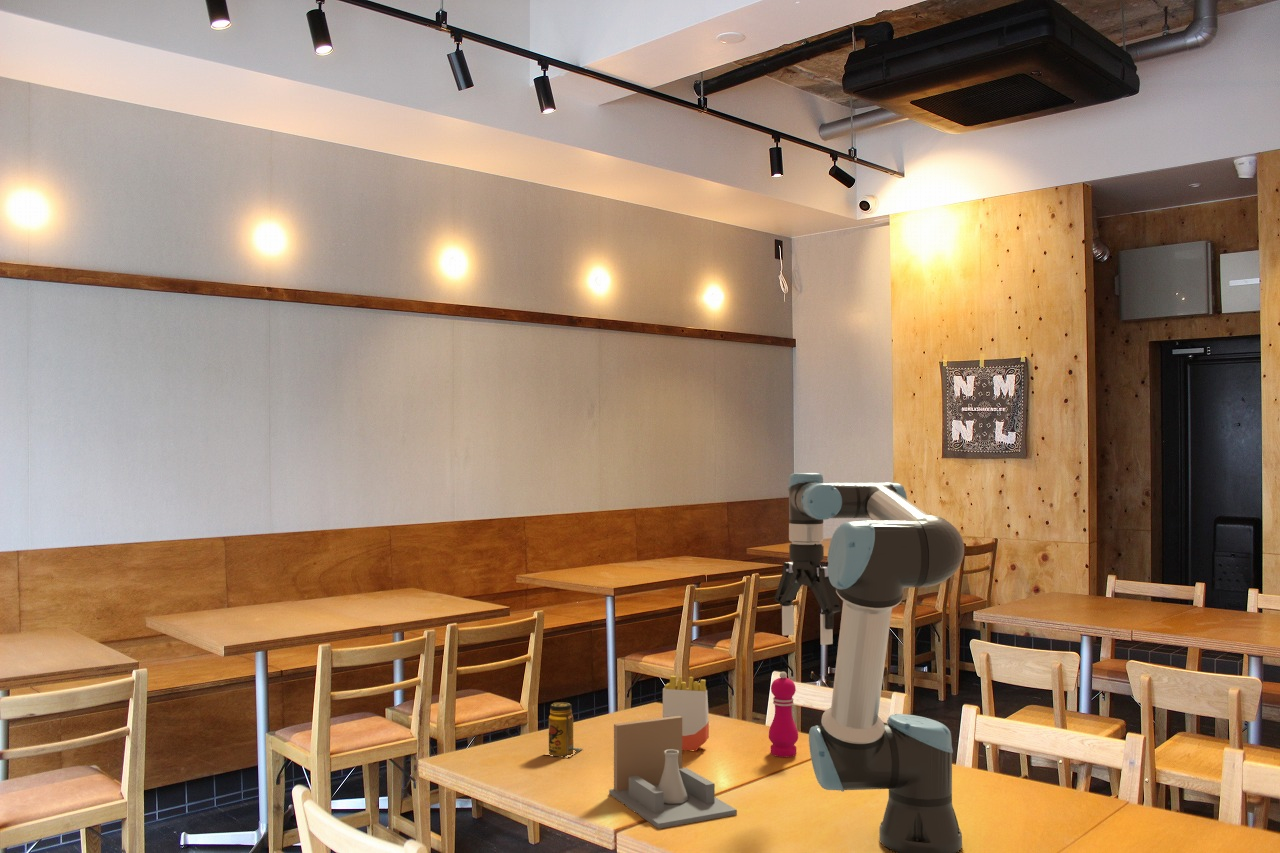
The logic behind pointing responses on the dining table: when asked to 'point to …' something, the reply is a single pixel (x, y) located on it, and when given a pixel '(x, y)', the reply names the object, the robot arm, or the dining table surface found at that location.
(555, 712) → the condiment
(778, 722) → the pepper mill
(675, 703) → the french fries container
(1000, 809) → the dining table surface
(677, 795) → the flask
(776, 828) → the dining table surface
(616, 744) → the shaker holder
